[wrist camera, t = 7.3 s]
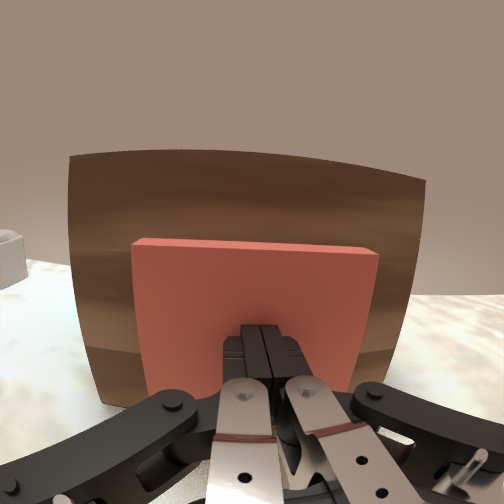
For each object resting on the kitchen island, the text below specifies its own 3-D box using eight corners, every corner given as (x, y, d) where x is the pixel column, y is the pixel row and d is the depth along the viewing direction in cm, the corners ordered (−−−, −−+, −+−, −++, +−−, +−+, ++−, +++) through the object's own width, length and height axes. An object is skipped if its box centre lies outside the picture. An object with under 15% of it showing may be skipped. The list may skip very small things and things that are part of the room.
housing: (375, 401, 17) (425, 180, 13) (101, 402, 15) (69, 156, 11) (326, 331, 28) (345, 181, 25) (141, 327, 26) (137, 169, 23)
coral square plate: (343, 400, 12) (379, 254, 11) (150, 403, 11) (130, 244, 10) (301, 323, 21) (312, 225, 20) (176, 321, 20) (175, 219, 19)
